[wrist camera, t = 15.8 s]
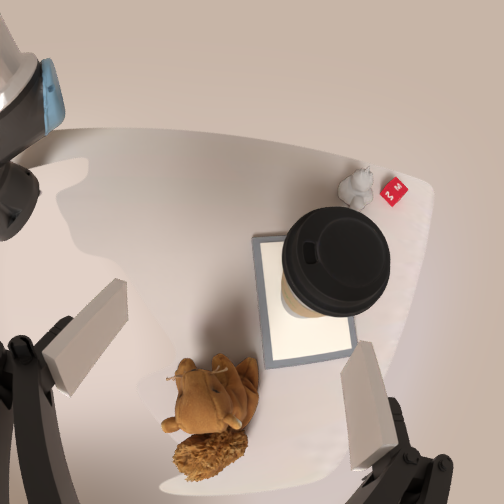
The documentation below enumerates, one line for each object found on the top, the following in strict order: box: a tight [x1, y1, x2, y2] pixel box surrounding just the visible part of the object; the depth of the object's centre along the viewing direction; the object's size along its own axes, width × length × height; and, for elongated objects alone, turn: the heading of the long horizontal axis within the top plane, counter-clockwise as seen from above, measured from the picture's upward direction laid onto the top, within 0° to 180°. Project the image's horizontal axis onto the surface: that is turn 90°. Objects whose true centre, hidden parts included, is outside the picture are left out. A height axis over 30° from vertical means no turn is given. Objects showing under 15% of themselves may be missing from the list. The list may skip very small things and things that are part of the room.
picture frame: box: [252, 235, 357, 369], centre depth 35 cm, size 17×12×1 cm
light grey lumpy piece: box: [338, 166, 373, 212], centre depth 38 cm, size 5×7×8 cm
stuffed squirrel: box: [161, 353, 259, 482], centre depth 24 cm, size 10×14×13 cm
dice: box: [380, 177, 408, 207], centre depth 41 cm, size 3×3×3 cm
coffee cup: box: [281, 207, 390, 319], centre depth 27 cm, size 9×9×15 cm
